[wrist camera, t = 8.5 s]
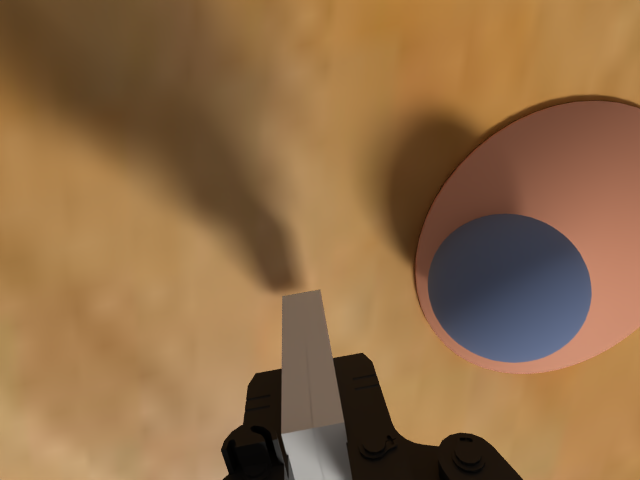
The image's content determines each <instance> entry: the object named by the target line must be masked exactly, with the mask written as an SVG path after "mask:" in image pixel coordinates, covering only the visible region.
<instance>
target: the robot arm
mask: <svg viewBox="0 0 640 480" xmlns="http://www.w3.org/2000/svg"><path fill="white" fill-rule="evenodd" d="M246 400H247V402H246V406H245V414H244V422H243V425H241V426H240V427H238V428H237V429H235V430H234V431H232V432H231V433H230V434H229V436H228V437H227V438H226V439H225V441H224V443H223V446H222V448H221V452H222V455H223V458H224V460H225V463H226V466H227V469H228V472H229V474H228V475H227V476H226V477H225V478H224V479H223V480H523V479H522V478H521V477H520V476H519V475H518V473H517V472H516V471H515V470H514V469H513V468H512V467H511V466H510V465H509V464H508V462H507V461H506V460H505V459H504V458H503V457H502V456H501V455H500V454H499V453H498V452H497V450H496V449H495V448H494V447H493V446H492V445H491V444H489V443H488V442H487V441H486V440H484V439H483V438H481V437H478V436H476V435H473V434H468V433H457V434H453V435H449V436H448V437H447V438H445V439H444V440H442V442H441V444H440V446H430V445H422V444H417V443H414V442H411V441H409V440H407V439H405V438H404V437H402V436H401V435H400V434H399V433H398V432H397V431H396V430H395V428H394V426H393V424H392V421H391V418H390V415H389V412H388V409H387V406H386V403H385V400H384V397H383V393H382V390H381V387H380V385H379V381H378V378H377V376H376V372H375V369H374V366H373V363H372V361H371V360H370V359H369V358H368V357H367V356H366V355H364V354H363V353H359V354H353V355H348V356H342V357H337V358H333V357H332V352H331V346H330V341H329V335H328V330H327V324H326V319H325V313H324V308H323V302H322V297H321V291H320V290H315V291H309V292H303V293H298V294H292V295H287V296H282V369H277V370H272V371H266V372H261V373H256V374H255V375H254V377H253V379H252V380H251V382H250V383H249V385H248V389H247V397H246Z"/></svg>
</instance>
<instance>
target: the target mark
mask: <svg viewBox="0 0 640 480" xmlns="http://www.w3.org/2000/svg"><path fill="white" fill-rule="evenodd" d="M494 214H517V215H523V216H528V217H532V218H534V219H537V220H540V221H542V222H545V223H547V224H548V225H550V226H552V227H554V228H555V229H557V230H558V231H559V232H561V233H562V234H563V235H565V236H566V237H567V238H568V239H569V240H570V241H571V242H572V243H573V245H574V246H575V247H576V248H577V250H578V251H579V252H580V254H581V256H582V258H583V260H584V262H585V264H586V266H587V269H588V272H589V275H590V280H591V289H592V296H591V304H590V309H589V312H588V315H587V317H586V320H585V322H584V324H583V326H582V327H581V329H580V330H579V332H578V333H577V334H576V335H575V337H574V338H573V339H572V340H571V341H570V342H569V343H568V344H566V345H565V346H564V347H562V348H561V349H559V350H558V351H556V352H554V353H553V354H551V355H548V356H546V357H544V358H541V359H538V360H533V361H528V362H519V363H509V362H500V361H494V360H490V359H487V358H484V357H481V356H478V355H476V354H474V353H472V352H470V351H469V350H467V349H465V348H464V347H462V346H461V345H459V344H458V343H457V342H456V341H454V340H453V339H452V338H451V337H450V336H449V335H448V334H447V333H446V331H445V330H444V329H443V328H442V326H441V325H440V323H439V321H438V320H437V318H436V316H435V314H434V312H433V310H432V306H431V303H430V300H429V294H428V275H429V269H430V265H431V262H432V260H433V257H434V255H435V253H436V251H437V250H438V248H439V246H440V245H441V244H442V242H443V241H444V240H445V239H446V238H447V237H448V236H449V235H450V234H451V233H452V232H453V231H455V230H456V229H457V228H459V227H460V226H462V225H463V224H465V223H468V222H470V221H472V220H474V219H477V218H480V217H483V216H488V215H494ZM415 279H416V289H417V294H418V298H419V302H420V305H421V308H422V310H423V312H424V315H425V317H426V319H427V321H428V323H429V324H430V326H431V327H432V329H433V331H434V332H435V334H436V335H437V336H438V337H439V338H440V340H441V341H442V342H443V343H444V344H445V345H446V346H447V347H448V348H449V349H451V350H452V351H453V352H454V353H456V354H457V355H458V356H460V357H462V358H463V359H465V360H467V361H468V362H470V363H473V364H475V365H478V366H480V367H482V368H486V369H490V370H494V371H497V372H505V373H512V374H531V373H541V372H548V371H553V370H558V369H562V368H565V367H568V366H572V365H575V364H578V363H580V362H583V361H585V360H587V359H590V358H592V357H594V356H596V355H598V354H600V353H602V352H604V351H606V350H608V349H609V348H611V347H612V346H614V345H616V344H617V343H619V342H620V341H622V340H623V339H625V338H626V337H627V336H628V335H630V334H631V333H632V332H634V331H635V330H636V329H637V328H639V327H640V109H639V108H637V107H633V106H629V105H626V104H622V103H616V102H606V101H580V102H571V103H566V104H561V105H556V106H552V107H549V108H546V109H543V110H540V111H537V112H534V113H531V114H529V115H527V116H525V117H523V118H521V119H519V120H516V121H514V122H512V123H511V124H509V125H507V126H506V127H504V128H503V129H501V130H499V131H498V132H496V133H495V134H493V135H492V136H490V137H489V138H488V139H487V140H485V141H484V142H483V143H482V144H480V145H479V146H478V147H477V148H475V149H474V150H473V151H472V152H471V153H470V154H469V155H468V156H467V157H466V158H465V159H464V160H463V161H462V162H461V163H460V164H459V165H458V167H457V168H456V169H455V171H454V172H453V173H452V174H451V176H450V177H449V178H448V179H447V181H446V182H445V183H444V185H443V187H442V188H441V190H440V191H439V193H438V195H437V196H436V198H435V199H434V201H433V203H432V206H431V208H430V210H429V212H428V214H427V216H426V218H425V221H424V224H423V227H422V230H421V234H420V237H419V241H418V247H417V252H416V262H415Z"/></svg>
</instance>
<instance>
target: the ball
mask: <svg viewBox="0 0 640 480" xmlns="http://www.w3.org/2000/svg"><path fill="white" fill-rule="evenodd" d="M428 294H429V300H430V303H431V306H432V310H433V312H434V314H435V316H436V318H437V320H438V321H439V323H440V325H441V326H442V328H443V329H444V330H445V331H446V333H447V334H448V335H449V336H450V337H451V338H452V339H453V340H454V341H456V342H457V343H458V344H459V345H461V346H462V347H464V348H465V349H467V350H469V351H470V352H472V353H474V354H476V355H478V356H481V357H484V358H487V359H490V360H494V361H500V362H509V363H519V362H528V361H533V360H538V359H541V358H544V357H546V356H548V355H551V354H553V353H554V352H556V351H558V350H559V349H561V348H562V347H564V346H565V345H566V344H568V343H569V342H570V341H571V340H572V339H573V338H574V337H575V335H576V334H577V333H578V332H579V330H580V329H581V327H582V326H583V324H584V322H585V320H586V317H587V315H588V312H589V309H590V304H591V296H592V289H591V280H590V275H589V272H588V269H587V266H586V264H585V262H584V260H583V258H582V256H581V254H580V252H579V251H578V250H577V248H576V247H575V246H574V245H573V243H572V242H571V241H570V240H569V239H568V238H567V237H566V236H565V235H563V234H562V233H561V232H559V231H558V230H557V229H555V228H554V227H552V226H550V225H548V224H547V223H545V222H542V221H540V220H537V219H534V218H532V217H528V216H523V215H517V214H494V215H488V216H483V217H480V218H477V219H474V220H472V221H470V222H468V223H465V224H463V225H462V226H460V227H459V228H457V229H456V230H455V231H453V232H452V233H451V234H450V235H449V236H448V237H447V238H446V239H445V240H444V241H443V242H442V244H441V245H440V246H439V248H438V250H437V251H436V253H435V255H434V257H433V260H432V262H431V265H430V269H429V275H428Z"/></svg>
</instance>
